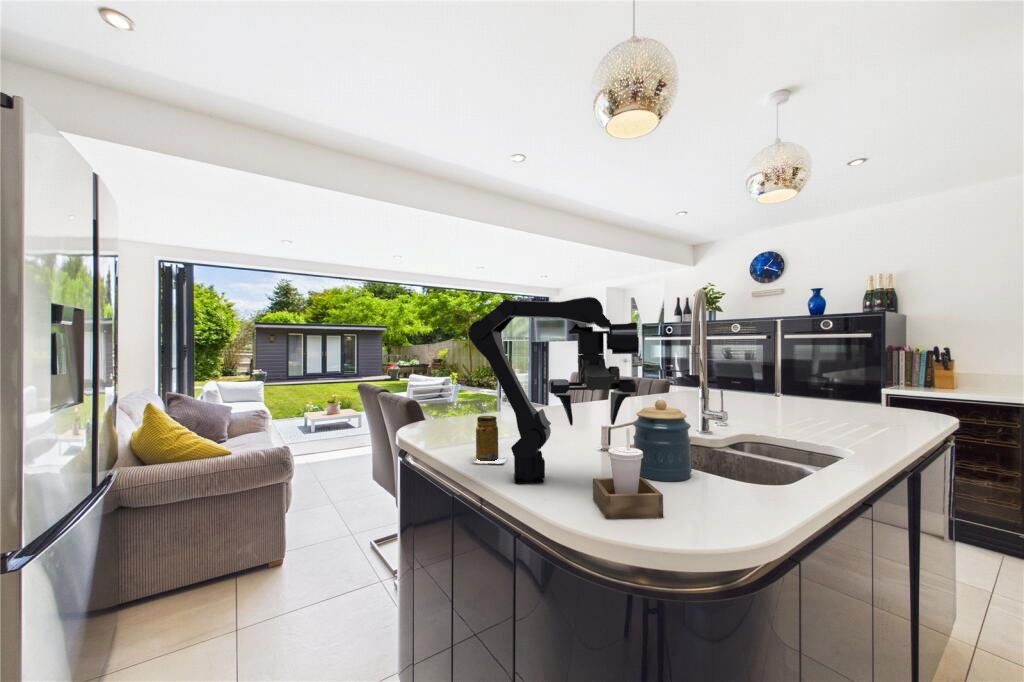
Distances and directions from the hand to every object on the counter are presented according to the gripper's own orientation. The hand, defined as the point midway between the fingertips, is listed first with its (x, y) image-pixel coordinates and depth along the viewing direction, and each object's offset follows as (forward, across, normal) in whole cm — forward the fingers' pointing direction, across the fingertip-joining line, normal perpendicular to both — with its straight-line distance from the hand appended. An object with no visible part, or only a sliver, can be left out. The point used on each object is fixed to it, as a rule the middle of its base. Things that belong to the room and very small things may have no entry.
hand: (591, 424), depth 91 cm
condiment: (+13, -23, +21) cm, 34 cm away
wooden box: (+13, +3, -14) cm, 19 cm away
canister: (+13, +18, +7) cm, 23 cm away
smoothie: (+12, +3, -14) cm, 19 cm away
